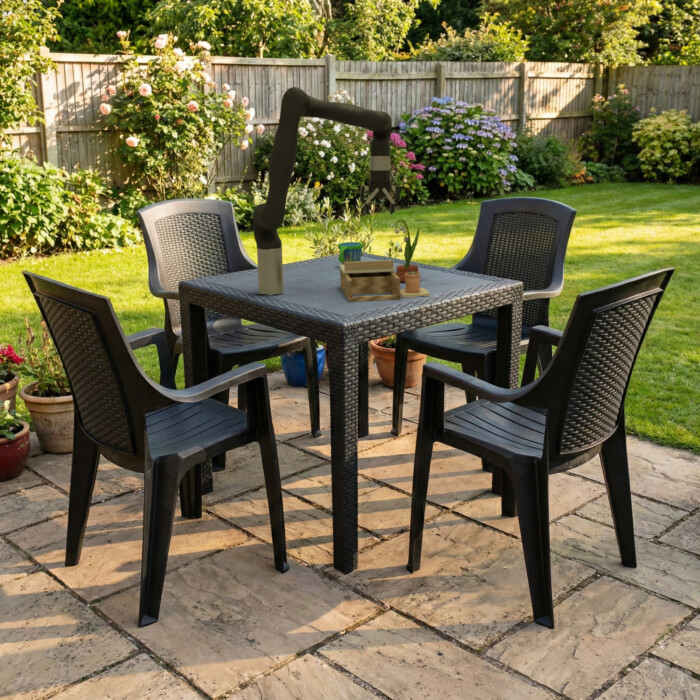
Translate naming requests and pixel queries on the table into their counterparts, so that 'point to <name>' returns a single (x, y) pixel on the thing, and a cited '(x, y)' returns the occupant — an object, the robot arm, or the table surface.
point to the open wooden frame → (370, 285)
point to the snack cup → (350, 252)
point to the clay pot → (412, 282)
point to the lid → (367, 266)
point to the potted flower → (406, 252)
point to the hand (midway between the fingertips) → (379, 214)
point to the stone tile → (422, 293)
